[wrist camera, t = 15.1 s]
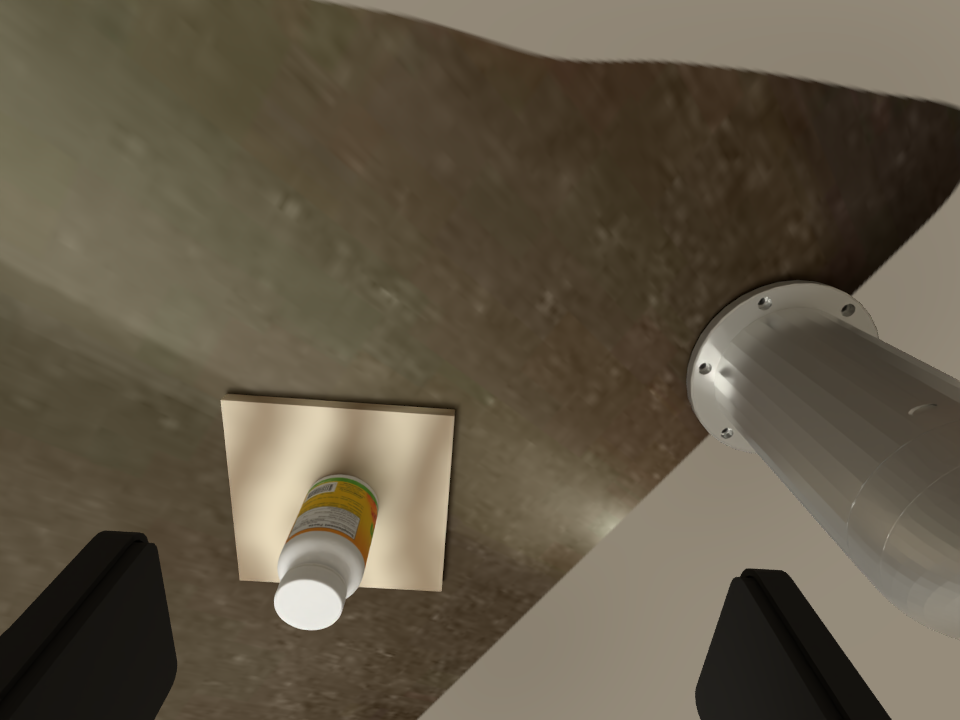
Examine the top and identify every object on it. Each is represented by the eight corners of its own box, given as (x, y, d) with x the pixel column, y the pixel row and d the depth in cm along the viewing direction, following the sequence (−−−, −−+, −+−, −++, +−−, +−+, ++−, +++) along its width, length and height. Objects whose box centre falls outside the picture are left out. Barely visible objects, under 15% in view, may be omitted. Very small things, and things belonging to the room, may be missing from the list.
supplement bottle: (364, 540, 43) (336, 650, 34) (297, 517, 42) (249, 623, 33) (390, 487, 41) (368, 588, 32) (320, 461, 40) (277, 558, 31)
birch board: (455, 409, 39) (454, 416, 39) (442, 581, 46) (441, 591, 45) (226, 393, 39) (220, 400, 38) (244, 570, 45) (239, 580, 44)
